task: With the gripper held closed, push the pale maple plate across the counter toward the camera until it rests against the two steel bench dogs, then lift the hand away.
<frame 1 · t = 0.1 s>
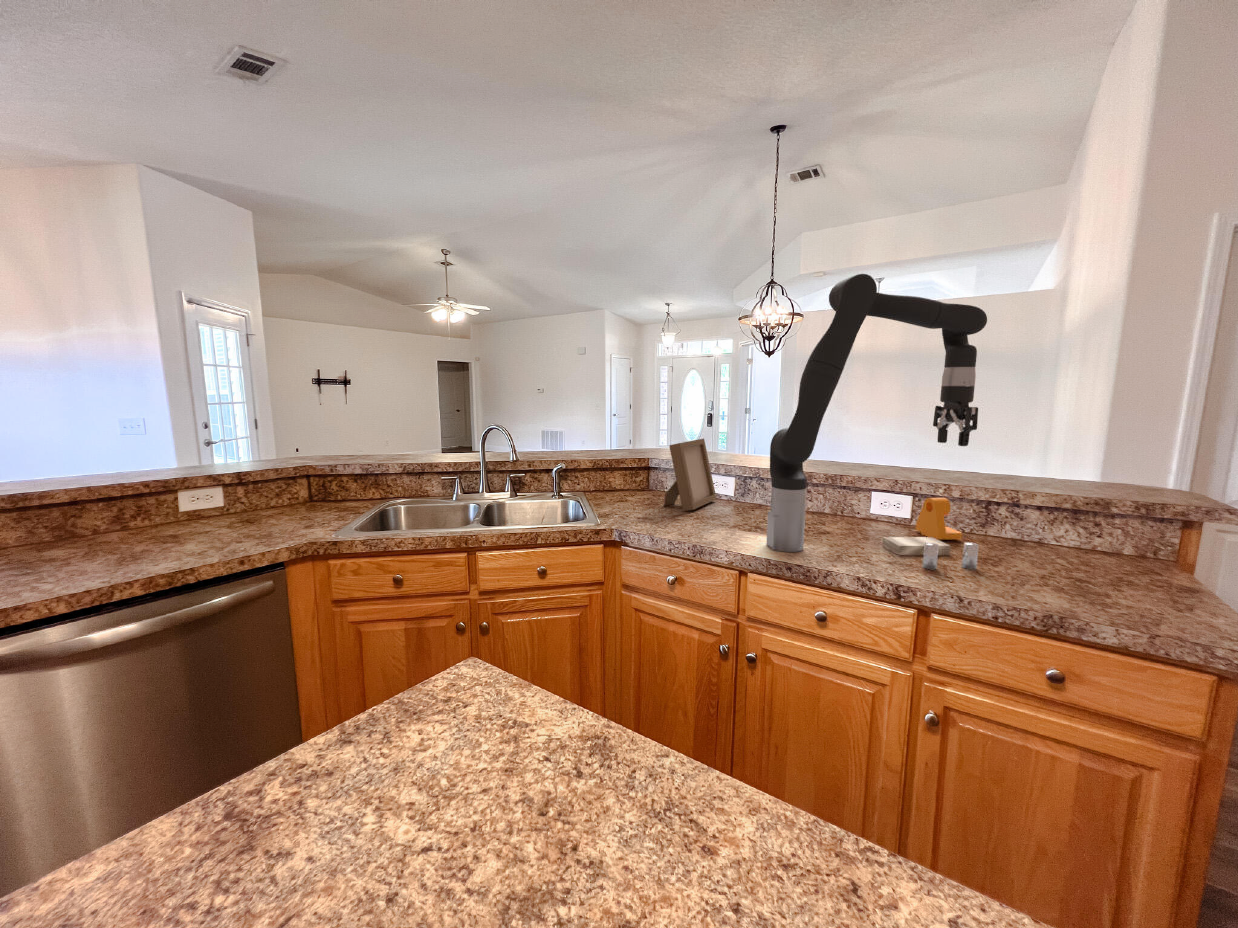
hand: (952, 444, 139), 29 cm above the countertop, tool pointing down, fingers open, 8 cm apart
bracket: (938, 537, 153), on the countertop
bench dogs: (949, 567, 125), on the countertop
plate: (915, 551, 139), on the countertop
photo frame: (687, 505, 196), on the countertop
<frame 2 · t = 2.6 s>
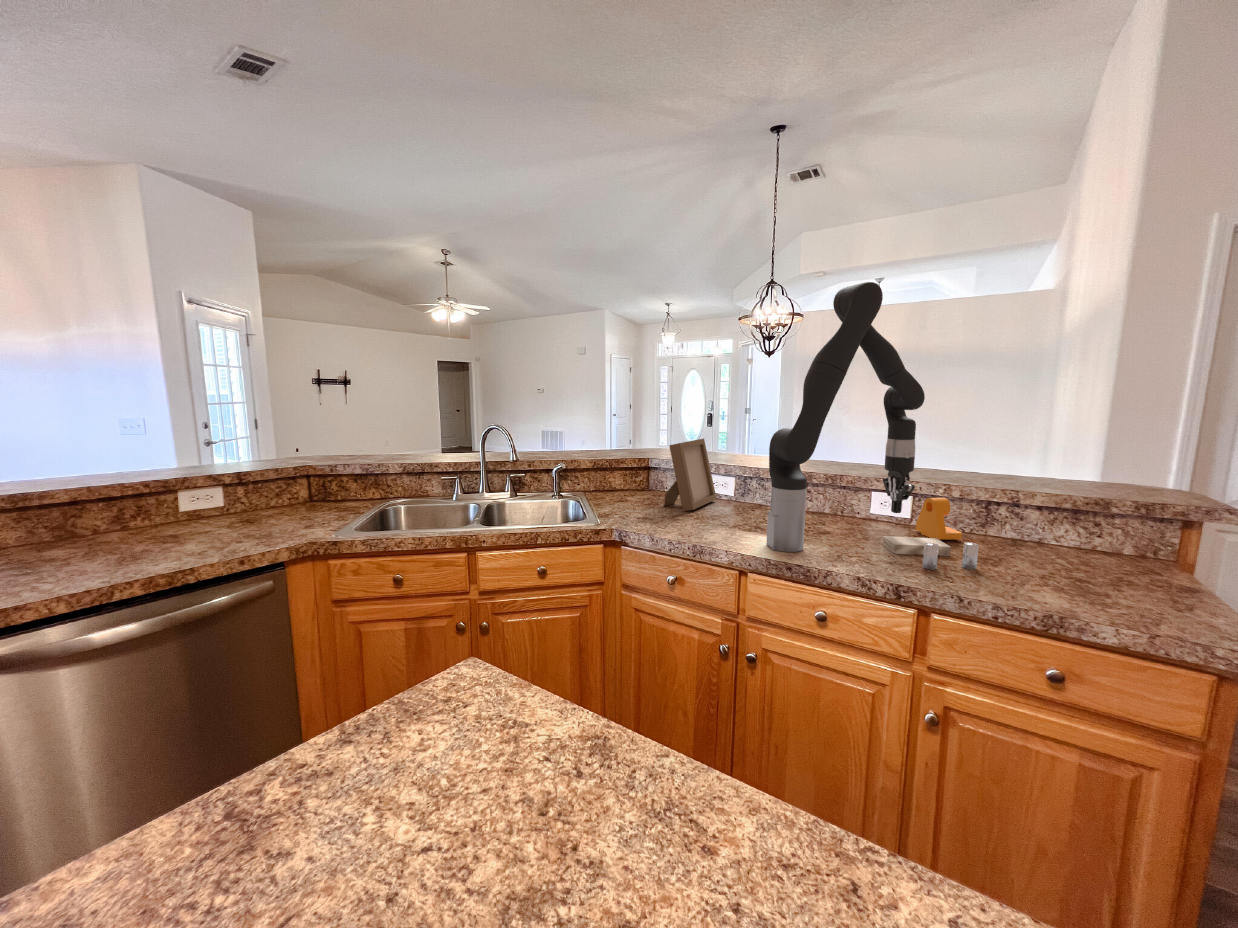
hand: (896, 512, 149), 8 cm above the countertop, tool pointing down, fingers closed
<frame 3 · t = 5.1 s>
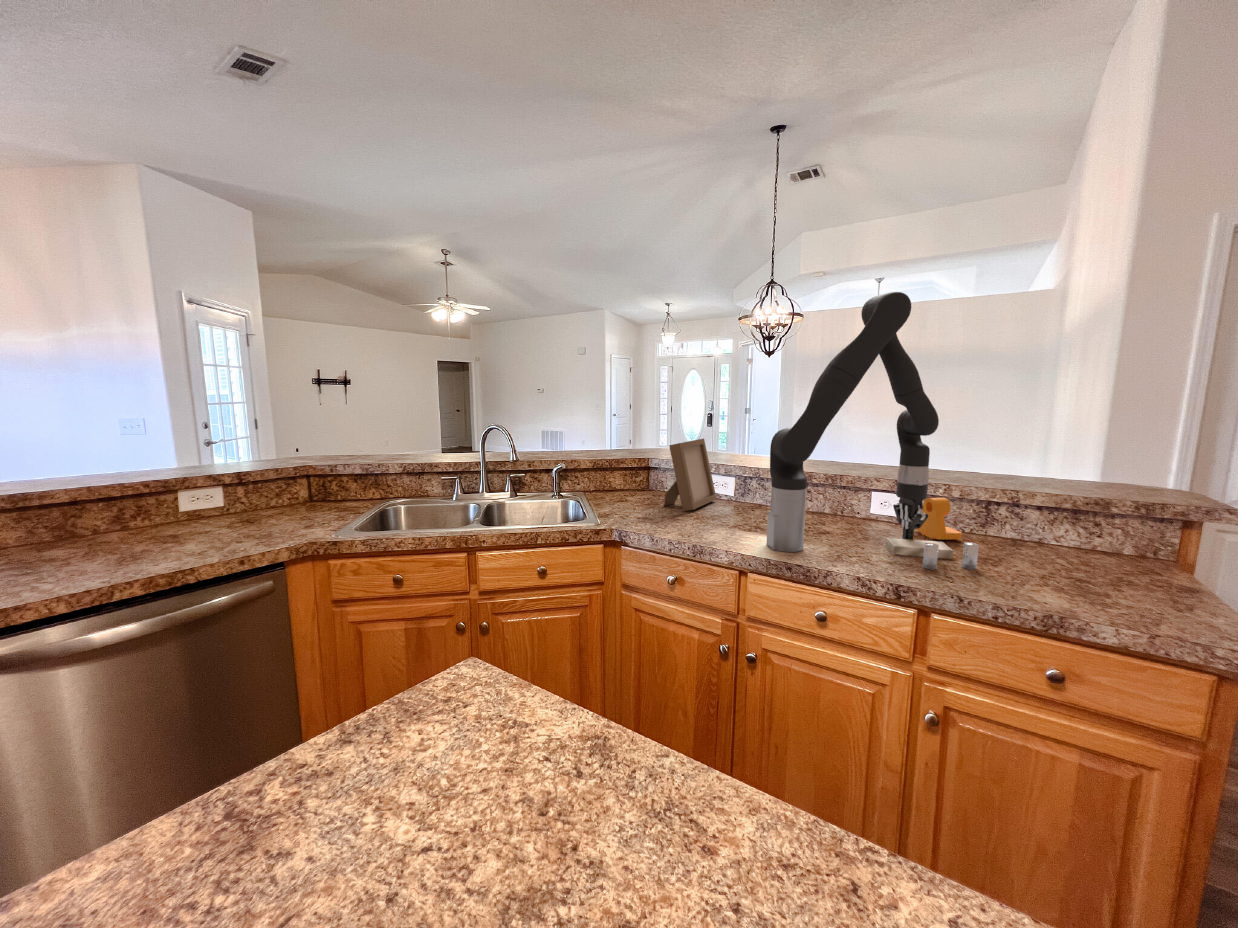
hand: (907, 541, 143), 1 cm above the countertop, tool pointing down, fingers closed
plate: (917, 554, 138), on the countertop
everything else where it was.
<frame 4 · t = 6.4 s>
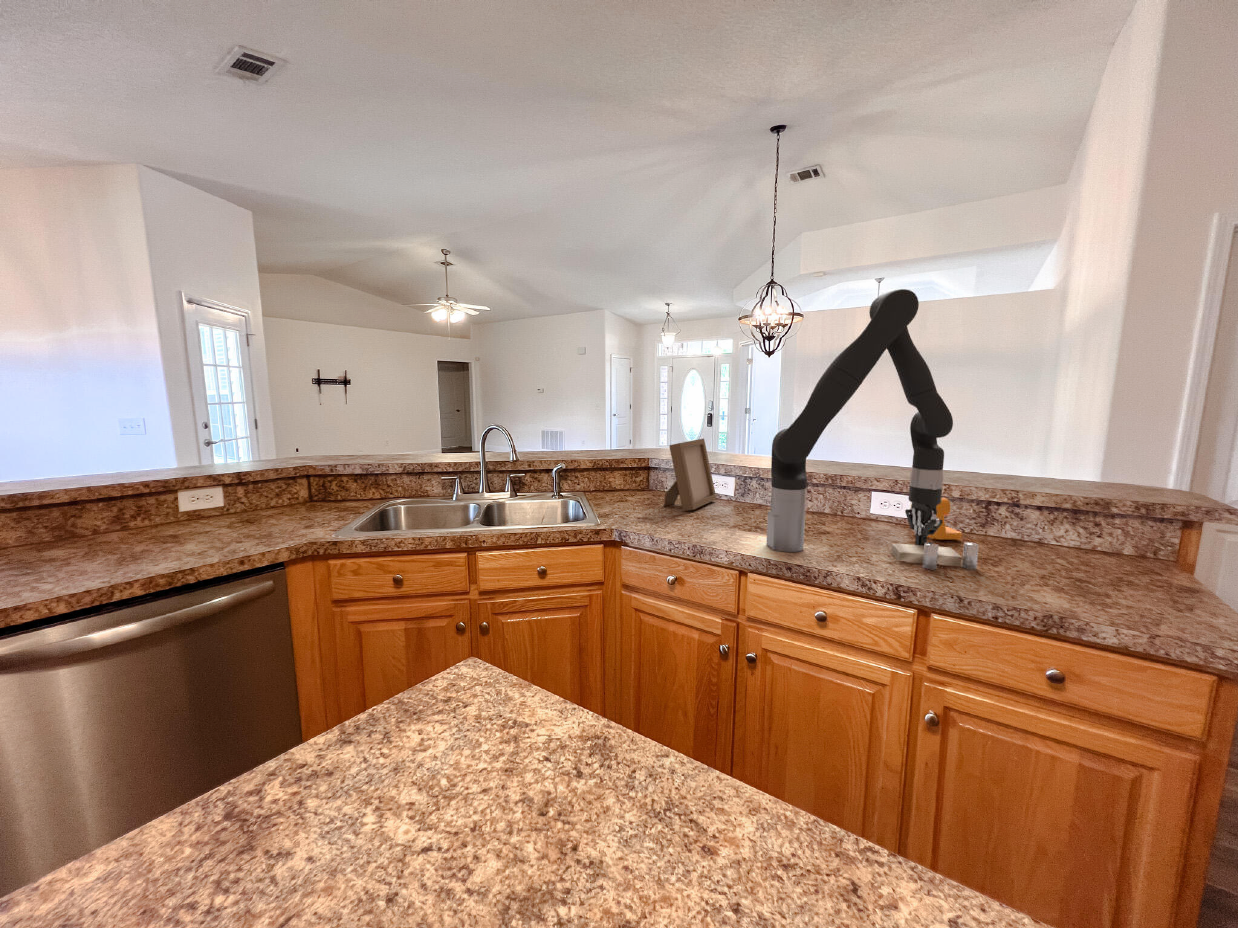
hand: (920, 547, 137), 1 cm above the countertop, tool pointing down, fingers closed
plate: (924, 560, 132), on the countertop
everything else where it was.
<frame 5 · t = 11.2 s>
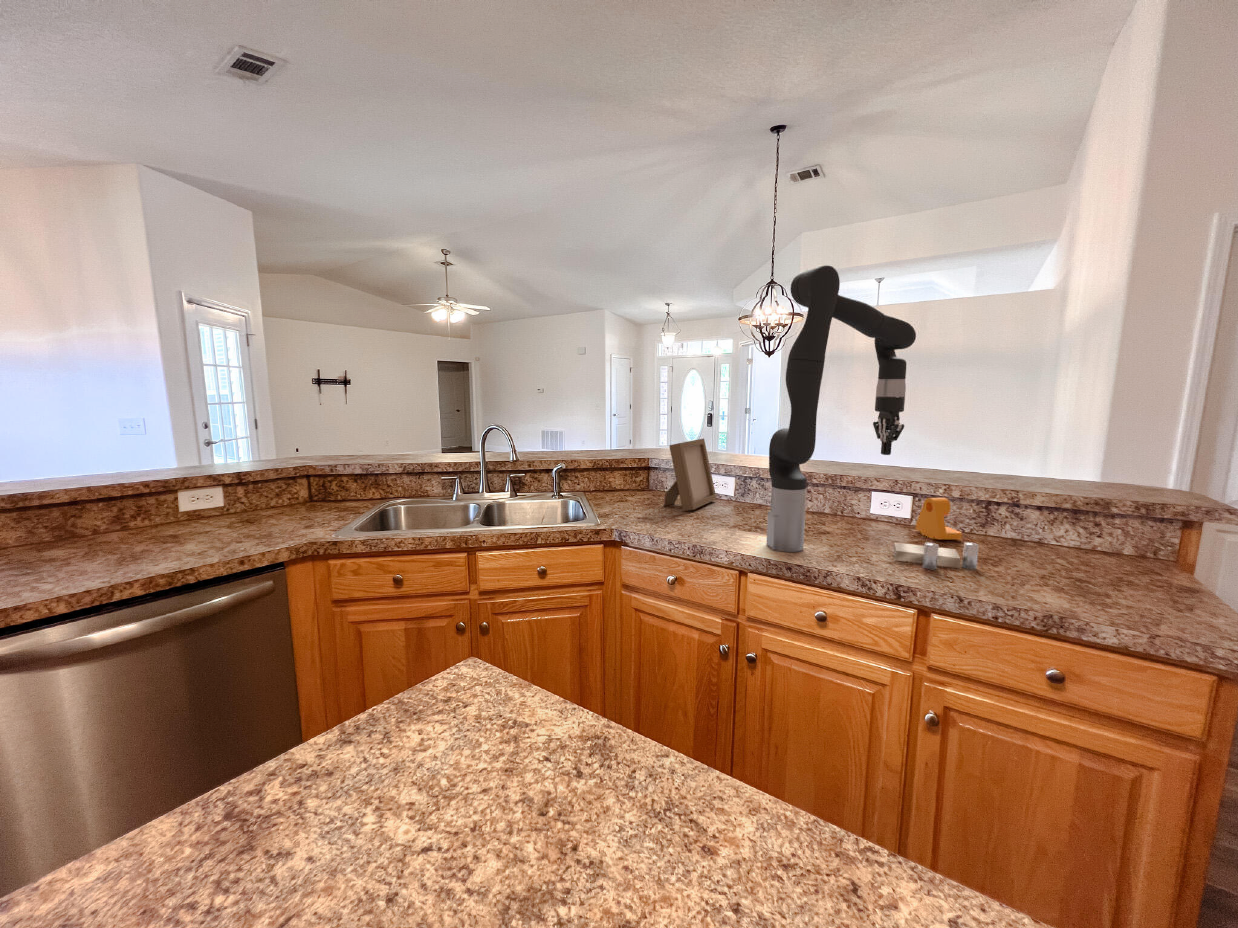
hand: (885, 454, 149), 25 cm above the countertop, tool pointing down, fingers closed
at the end: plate inside the target area (2.3 cm from its centre), on the countertop; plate tilted 0° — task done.
